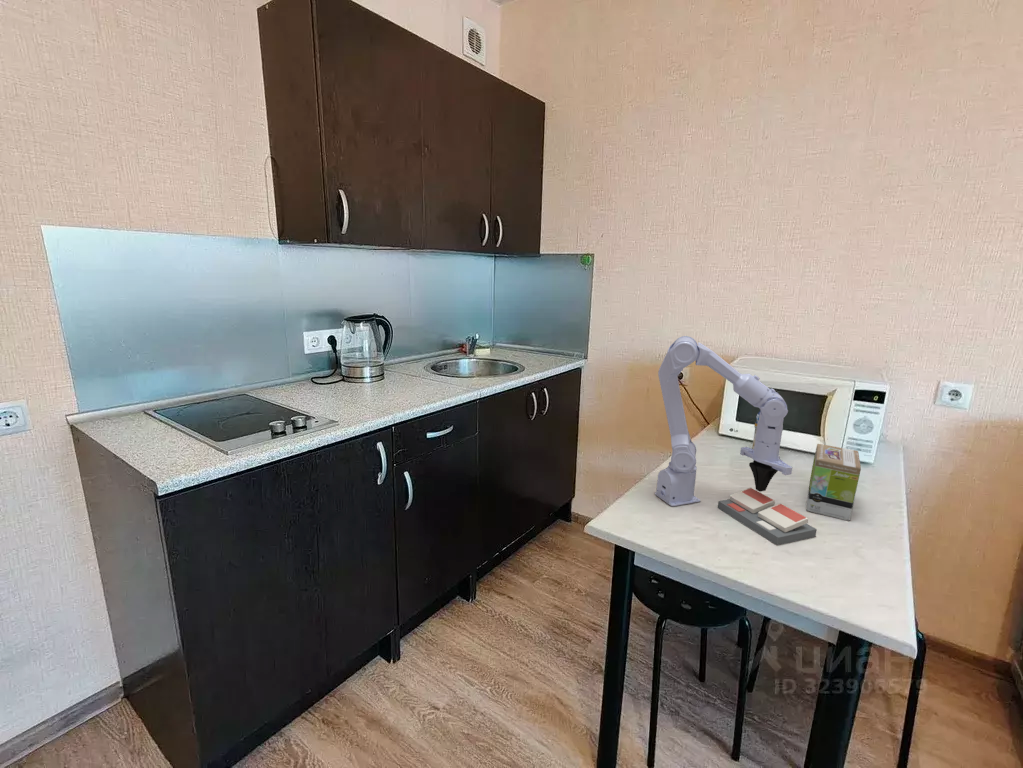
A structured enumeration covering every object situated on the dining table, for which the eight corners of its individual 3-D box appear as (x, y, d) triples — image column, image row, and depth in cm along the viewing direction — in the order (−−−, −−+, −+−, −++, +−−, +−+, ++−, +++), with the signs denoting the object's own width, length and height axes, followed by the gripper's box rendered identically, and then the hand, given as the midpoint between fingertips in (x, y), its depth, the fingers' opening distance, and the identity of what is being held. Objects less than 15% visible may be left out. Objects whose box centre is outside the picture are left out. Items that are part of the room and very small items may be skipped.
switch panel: (776, 545, 114) (778, 535, 114) (717, 507, 132) (718, 498, 131) (815, 536, 118) (817, 526, 118) (753, 501, 136) (754, 492, 135)
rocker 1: (753, 513, 124) (753, 509, 124) (729, 499, 132) (729, 495, 131) (774, 504, 126) (774, 500, 126) (750, 491, 134) (750, 487, 133)
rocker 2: (785, 532, 116) (785, 527, 115) (757, 516, 123) (757, 512, 123) (807, 522, 118) (808, 518, 117) (779, 507, 125) (779, 503, 125)
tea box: (851, 522, 126) (862, 467, 122) (805, 511, 131) (814, 458, 127) (849, 499, 138) (859, 449, 134) (807, 490, 143) (816, 441, 140)
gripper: (804, 448, 121) (796, 500, 124) (757, 430, 134) (750, 477, 137) (782, 451, 118) (774, 504, 121) (736, 432, 132) (730, 480, 135)
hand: (760, 490), depth 129 cm, fingers closed
